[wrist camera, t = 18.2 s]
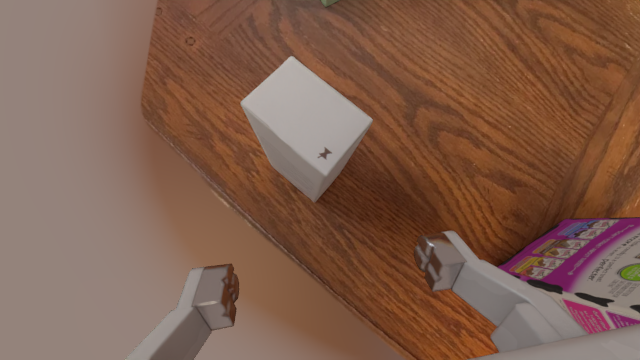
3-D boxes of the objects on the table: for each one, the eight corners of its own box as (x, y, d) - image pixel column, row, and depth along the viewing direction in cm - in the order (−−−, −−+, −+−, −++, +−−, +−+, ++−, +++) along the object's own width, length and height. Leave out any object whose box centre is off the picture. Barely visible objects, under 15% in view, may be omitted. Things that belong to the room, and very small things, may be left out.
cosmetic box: (341, 172, 24) (378, 120, 12) (314, 203, 23) (326, 180, 11) (296, 135, 24) (291, 50, 13) (269, 164, 23) (235, 103, 12)
